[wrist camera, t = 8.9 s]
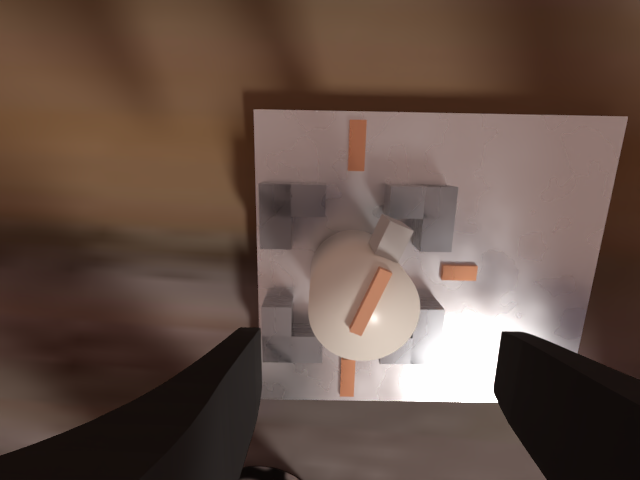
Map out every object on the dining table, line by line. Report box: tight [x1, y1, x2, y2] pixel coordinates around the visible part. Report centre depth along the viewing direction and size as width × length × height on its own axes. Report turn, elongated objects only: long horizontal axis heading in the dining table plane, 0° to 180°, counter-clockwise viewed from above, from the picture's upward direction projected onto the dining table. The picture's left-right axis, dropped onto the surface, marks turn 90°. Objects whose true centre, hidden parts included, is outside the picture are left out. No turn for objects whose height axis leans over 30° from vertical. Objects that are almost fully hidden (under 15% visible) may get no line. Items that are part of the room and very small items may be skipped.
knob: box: [308, 214, 420, 361], centre depth 16 cm, size 6×4×5 cm
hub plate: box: [254, 109, 628, 402], centre depth 18 cm, size 16×18×2 cm
